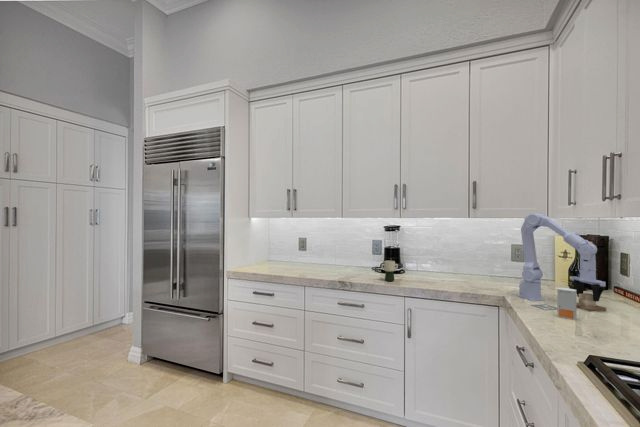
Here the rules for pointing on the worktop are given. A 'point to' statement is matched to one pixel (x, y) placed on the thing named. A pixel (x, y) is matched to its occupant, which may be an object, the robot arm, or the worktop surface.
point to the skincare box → (566, 303)
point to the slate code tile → (545, 307)
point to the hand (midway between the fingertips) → (588, 299)
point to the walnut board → (591, 308)
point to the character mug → (389, 269)
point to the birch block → (586, 300)
